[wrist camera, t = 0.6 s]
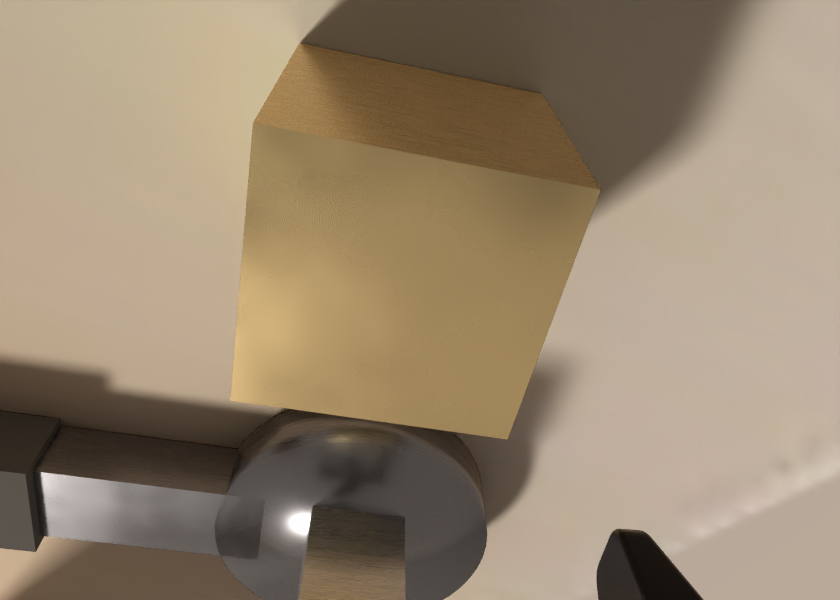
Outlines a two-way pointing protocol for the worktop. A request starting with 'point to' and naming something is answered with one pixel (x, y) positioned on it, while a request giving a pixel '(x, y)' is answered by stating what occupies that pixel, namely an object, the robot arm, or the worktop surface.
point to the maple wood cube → (403, 243)
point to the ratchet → (260, 502)
